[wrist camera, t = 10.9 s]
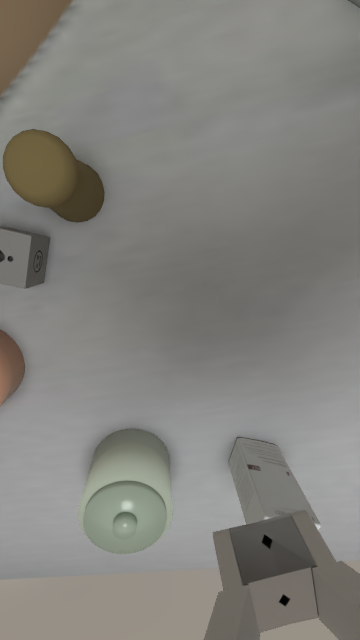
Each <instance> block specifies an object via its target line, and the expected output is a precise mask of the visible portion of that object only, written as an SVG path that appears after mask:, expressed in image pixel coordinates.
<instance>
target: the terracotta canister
mask: <svg viewBox="0 0 360 640" xmlns="http://www.w3.org/2000/svg"><path fill="white" fill-rule="evenodd" d="M24 372H25V362H24V358H23V355H22V352H21V350H20V348H19V346H18V345H17V344H16V342H15V341H14V340H13V339H12V338H11V337H10V336H9V335H8V334H7V333H5V332H4V331H2V330H0V406H1V405H2V404H3V403H4V402H5V401H6V400H7V399H8V398H9V397H10V396H11V395H12V394H13V393H14V392H15V391H16V389H17V388H18V387H19V385H20V384H21V382H22V380H23V377H24Z"/></svg>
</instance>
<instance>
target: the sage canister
mask: <svg viewBox="0 0 360 640" xmlns="http://www.w3.org/2000/svg"><path fill="white" fill-rule="evenodd" d="M172 516H173V504H172V489H171V475H170V460H169V453H168V450H167V448H166V446H165V445H164V443H163V442H162V441H161V440H160V439H159V438H158V437H157V436H155V435H154V434H152V433H150V432H147V431H144V430H140V429H125V430H120V431H117V432H115V433H113V434H111V435H109V436H108V437H106V438H105V439H104V440H103V441H102V442H101V443H100V444H99V446H98V447H97V449H96V451H95V454H94V457H93V461H92V464H91V467H90V471H89V474H88V478H87V481H86V484H85V488H84V491H83V495H82V498H81V502H80V505H79V509H78V521H79V524H80V527H81V529H82V531H83V533H84V534H85V535H86V536H87V538H88V539H90V541H91V542H92V543H94V544H95V545H96V546H97V547H99V548H101V549H103V550H105V551H108V552H112V553H117V554H129V553H135V552H138V551H141V550H144V549H146V548H148V547H149V546H151V545H152V544H154V543H155V542H156V541H157V540H159V539H160V538H161V537H162V536H163V535H164V534H165V532H166V531H167V529H168V528H169V526H170V524H171V521H172Z"/></svg>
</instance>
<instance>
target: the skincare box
mask: <svg viewBox="0 0 360 640" xmlns="http://www.w3.org/2000/svg"><path fill="white" fill-rule="evenodd" d="M229 466H230V469H231V473H232V476H233V480H234V483H235V487H236V490H237V494H238V497H239V501H240V504H241V508H242V511H243V515H244V518H245V522H246V525H247V524H252V523H256V522H259V521H261V520H265V519H269V518H273V517H276V516H280V515H284V514H290V513H293V512H297V511H301V510H306V511H307V512H308V513H309V515H310V517H311V519H312V520H313V522H314V524H315V526H316V527H317V529H318V531H319V529H320V526H321V524H320V522H319V521H318V519H317V517H316V515H315V513H314V512H313V510H312V508H311V506H310V504H309V503H308V501H307V499H306V497H305V495H304V494H303V492H302V490H301V488H300V486H299V484H298V483H297V481H296V479H295V477H294V475H293V474H292V472H291V470H290V468H289V466H288V464H287V463H286V461H285V459H284V457H283V455H282V454H281V452H280V450H279V448H278V447H277V446H276V445H273V444H270V443H266V442H261V441H256V440H251V439H246V438H237V440H236V443H235V445H234V448H233V451H232V454H231V457H230V460H229Z"/></svg>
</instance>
